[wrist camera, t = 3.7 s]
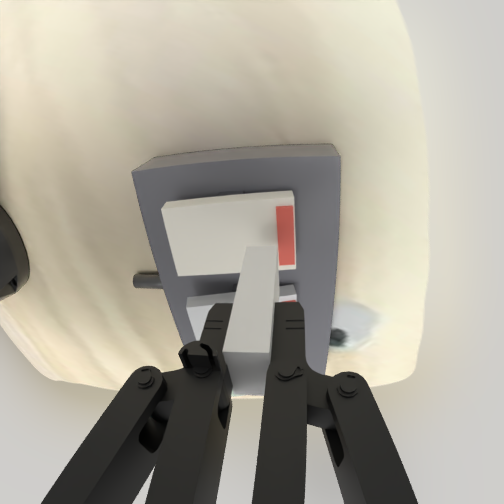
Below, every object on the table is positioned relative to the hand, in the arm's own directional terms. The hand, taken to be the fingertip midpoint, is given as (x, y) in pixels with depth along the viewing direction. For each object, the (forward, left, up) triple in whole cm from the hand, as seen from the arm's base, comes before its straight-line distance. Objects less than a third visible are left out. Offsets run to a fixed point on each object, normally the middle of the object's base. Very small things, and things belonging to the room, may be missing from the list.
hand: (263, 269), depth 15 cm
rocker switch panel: (-5, -8, -10) cm, 13 cm away
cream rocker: (-2, 0, -4) cm, 5 cm away
